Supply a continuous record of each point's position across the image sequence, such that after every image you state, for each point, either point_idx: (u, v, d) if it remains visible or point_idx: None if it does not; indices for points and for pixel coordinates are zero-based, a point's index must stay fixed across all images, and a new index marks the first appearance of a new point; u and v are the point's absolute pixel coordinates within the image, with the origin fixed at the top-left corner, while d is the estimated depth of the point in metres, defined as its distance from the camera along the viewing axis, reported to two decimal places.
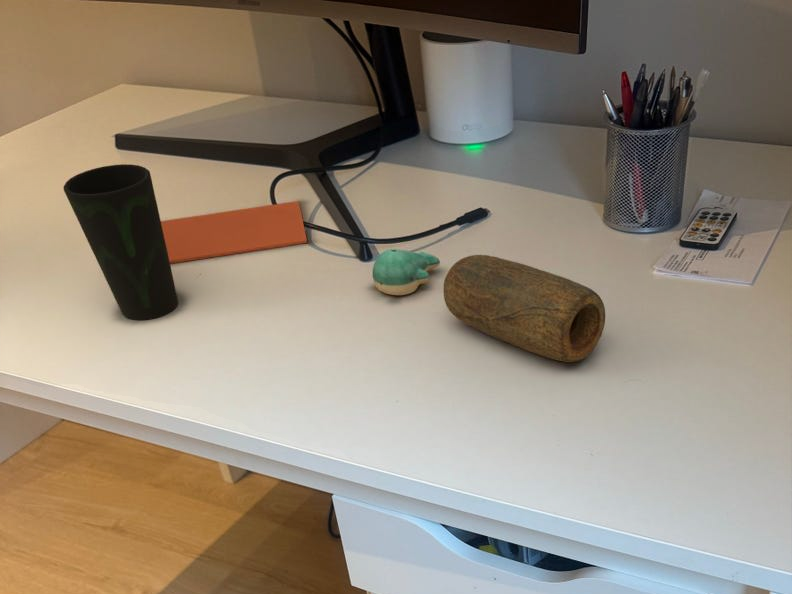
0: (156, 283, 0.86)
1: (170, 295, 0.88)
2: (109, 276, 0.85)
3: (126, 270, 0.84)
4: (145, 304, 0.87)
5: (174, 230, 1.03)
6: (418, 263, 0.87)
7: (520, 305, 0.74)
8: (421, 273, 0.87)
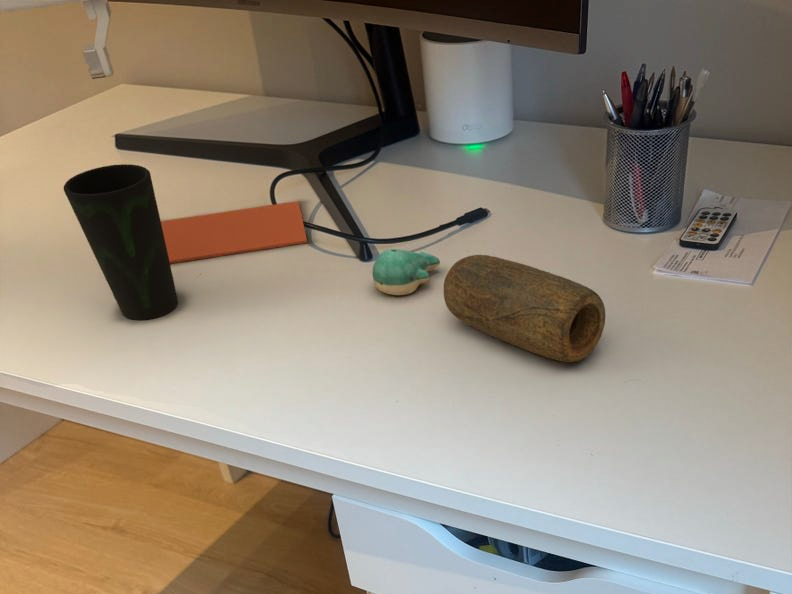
0: (156, 283, 0.86)
1: (170, 295, 0.88)
2: (109, 276, 0.85)
3: (126, 270, 0.84)
4: (145, 304, 0.87)
5: (174, 230, 1.03)
6: (418, 263, 0.87)
7: (521, 305, 0.74)
8: (421, 273, 0.87)
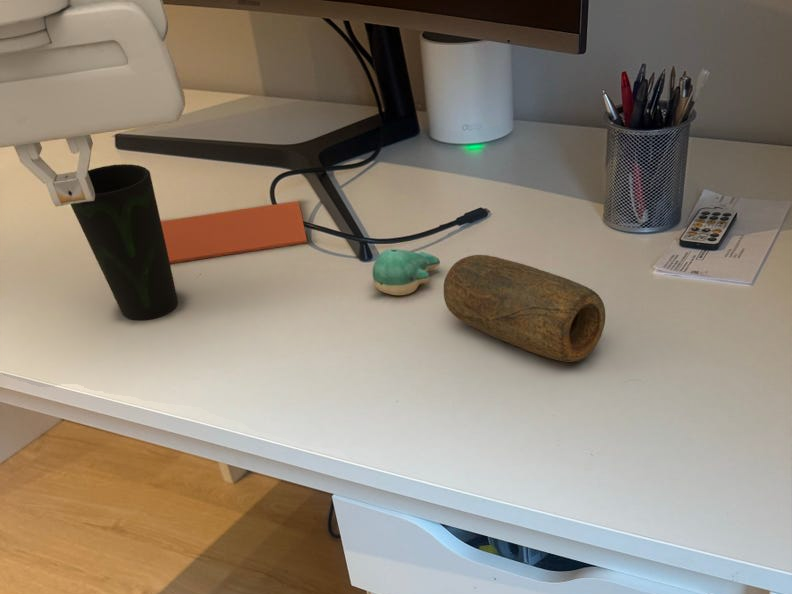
0: (156, 283, 0.86)
1: (170, 295, 0.88)
2: (109, 276, 0.85)
3: (126, 270, 0.84)
4: (145, 304, 0.87)
5: (174, 230, 1.03)
6: (418, 263, 0.87)
7: (521, 305, 0.74)
8: (421, 273, 0.87)
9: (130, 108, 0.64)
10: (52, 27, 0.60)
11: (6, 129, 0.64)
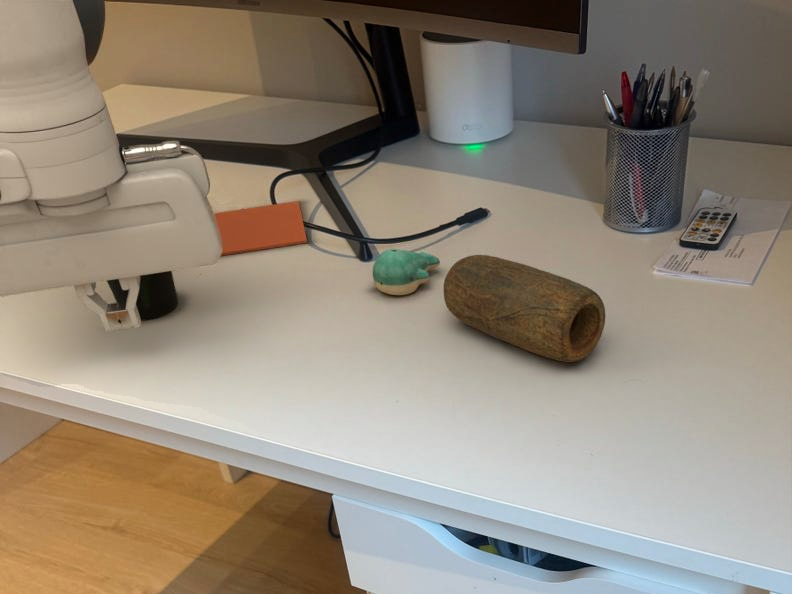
0: (156, 283, 0.86)
1: (170, 295, 0.88)
2: None
3: None
4: (145, 304, 0.87)
5: None
6: (418, 263, 0.87)
7: (521, 305, 0.74)
8: (421, 273, 0.87)
9: (175, 254, 0.74)
10: (111, 192, 0.70)
11: (67, 273, 0.73)
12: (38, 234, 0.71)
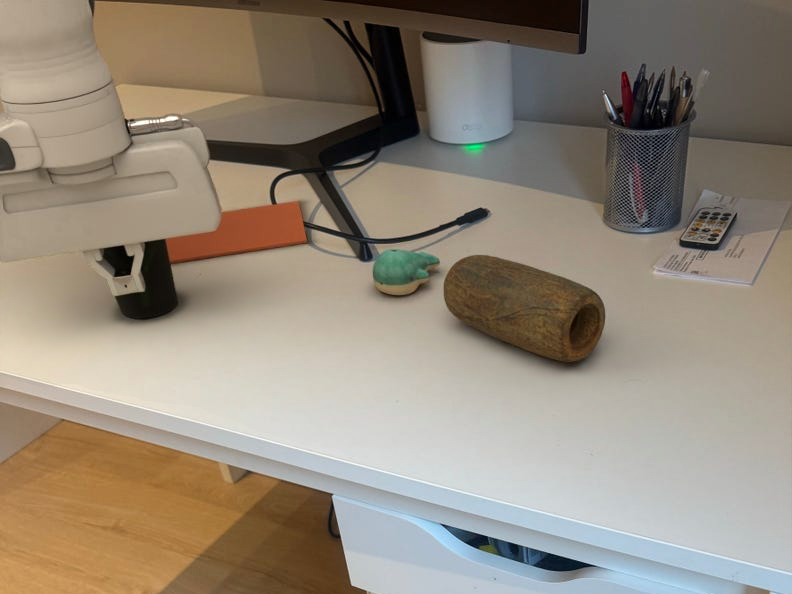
0: (156, 280, 0.86)
1: (170, 293, 0.88)
2: None
3: (126, 267, 0.84)
4: (144, 301, 0.86)
5: None
6: (418, 263, 0.87)
7: (520, 305, 0.74)
8: (421, 273, 0.87)
9: (178, 222, 0.79)
10: (117, 162, 0.75)
11: (77, 239, 0.78)
12: (50, 201, 0.76)
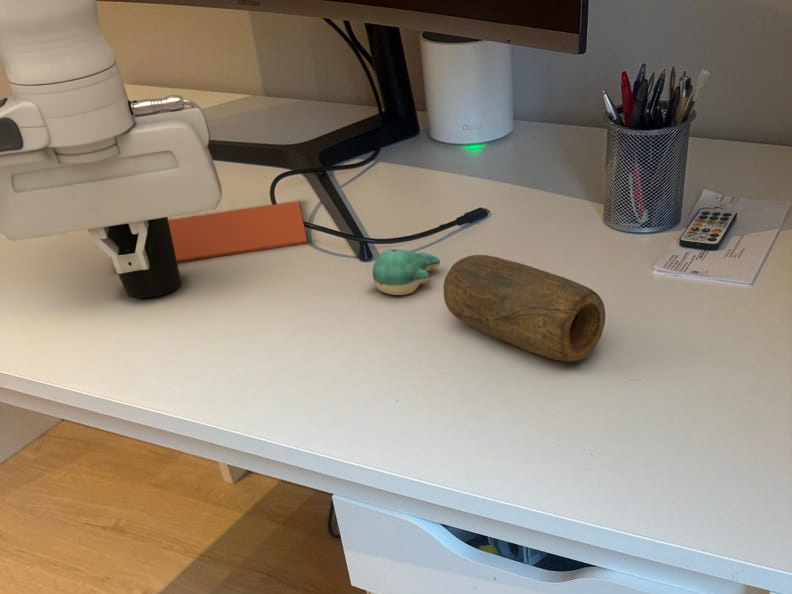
0: (160, 260, 0.89)
1: (173, 273, 0.91)
2: None
3: (130, 246, 0.87)
4: (148, 280, 0.89)
5: (174, 230, 1.03)
6: (418, 263, 0.87)
7: (520, 305, 0.74)
8: (421, 273, 0.87)
9: (179, 200, 0.82)
10: (121, 142, 0.78)
11: (83, 217, 0.81)
12: (57, 181, 0.79)
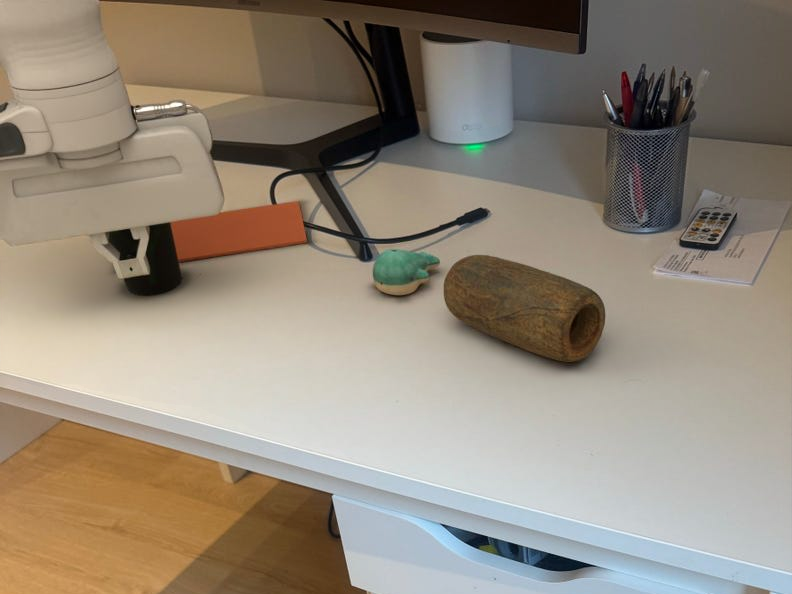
0: (161, 259, 0.90)
1: (174, 271, 0.92)
2: None
3: (133, 246, 0.88)
4: (151, 279, 0.90)
5: (174, 230, 1.03)
6: (418, 263, 0.87)
7: (520, 305, 0.74)
8: (421, 273, 0.87)
9: (182, 205, 0.81)
10: (124, 147, 0.77)
11: (84, 222, 0.81)
12: (58, 186, 0.78)
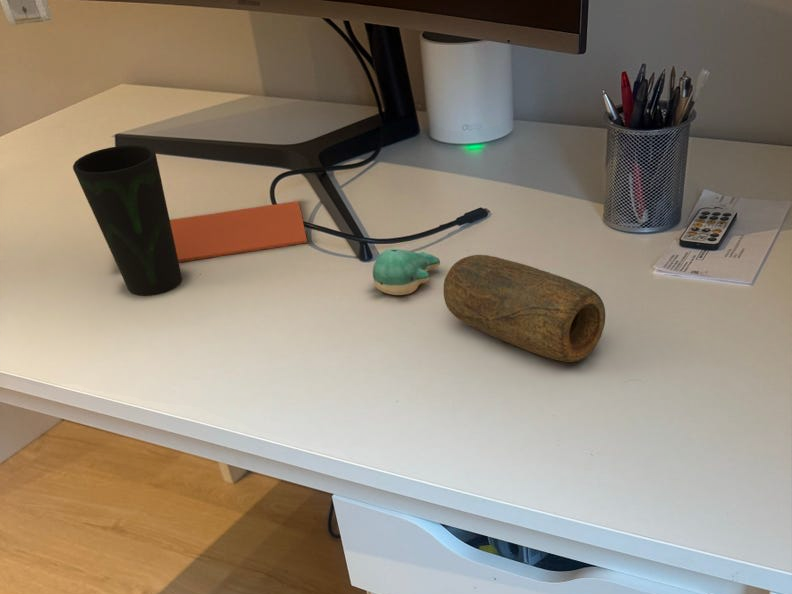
0: (161, 259, 0.90)
1: (174, 271, 0.92)
2: (116, 252, 0.89)
3: (133, 246, 0.88)
4: (151, 279, 0.90)
5: (174, 230, 1.03)
6: (418, 263, 0.87)
7: (521, 305, 0.74)
8: (421, 273, 0.87)
9: None
10: None
11: None
12: None
